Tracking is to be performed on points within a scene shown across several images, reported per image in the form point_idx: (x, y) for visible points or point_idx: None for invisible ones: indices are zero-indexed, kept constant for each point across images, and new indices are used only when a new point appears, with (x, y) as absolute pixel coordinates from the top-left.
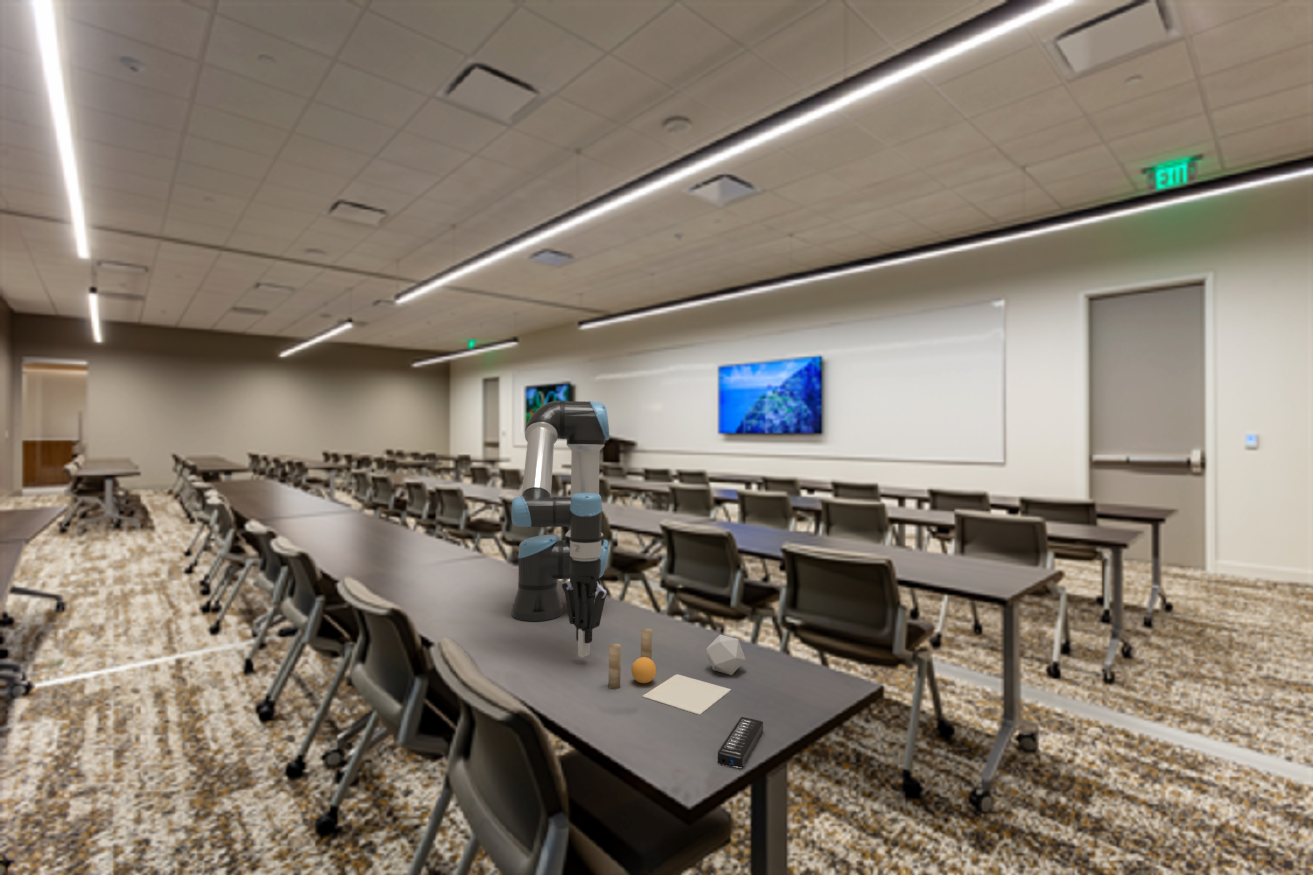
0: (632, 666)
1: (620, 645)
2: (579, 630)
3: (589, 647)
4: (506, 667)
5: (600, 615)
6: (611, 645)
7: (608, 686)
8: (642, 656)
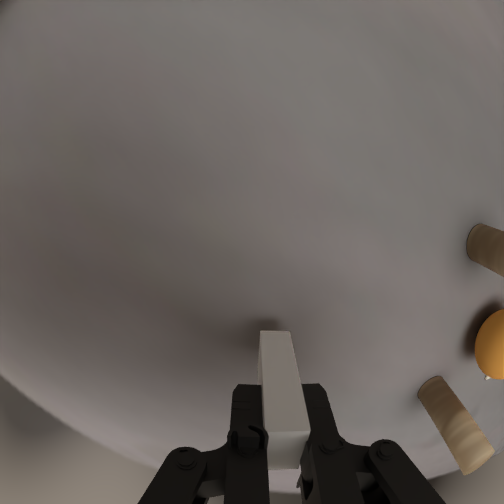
0: (488, 373)
1: (493, 451)
2: (270, 465)
3: (293, 352)
4: (115, 433)
5: (432, 501)
6: (470, 469)
7: (418, 397)
8: (501, 275)
